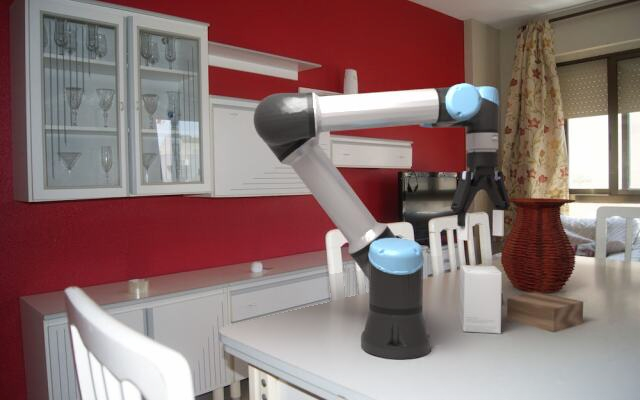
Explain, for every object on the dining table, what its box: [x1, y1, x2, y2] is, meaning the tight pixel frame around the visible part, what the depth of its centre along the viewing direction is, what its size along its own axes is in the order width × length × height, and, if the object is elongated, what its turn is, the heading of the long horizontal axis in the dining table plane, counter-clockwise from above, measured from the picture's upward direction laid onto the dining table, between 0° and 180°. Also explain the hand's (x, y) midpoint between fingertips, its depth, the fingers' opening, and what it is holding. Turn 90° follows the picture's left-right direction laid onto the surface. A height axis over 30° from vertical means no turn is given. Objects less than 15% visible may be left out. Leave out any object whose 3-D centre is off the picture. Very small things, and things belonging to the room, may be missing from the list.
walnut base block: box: [506, 292, 584, 333], centre depth 129 cm, size 13×13×6 cm
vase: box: [500, 197, 577, 294], centre depth 166 cm, size 23×24×30 cm
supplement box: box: [459, 264, 503, 335], centre depth 123 cm, size 9×9×15 cm
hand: (481, 237), depth 123 cm, fingers open, 13 cm apart
